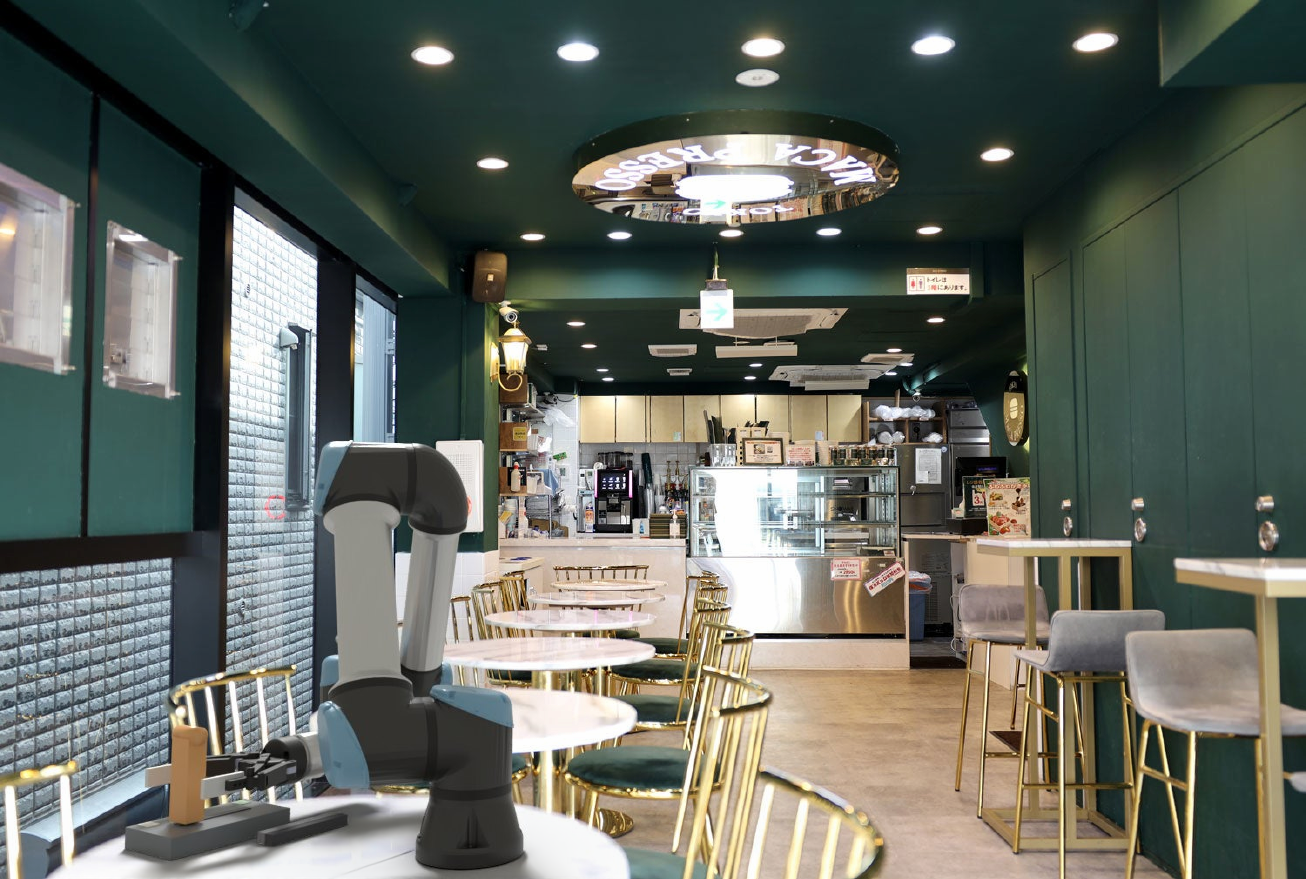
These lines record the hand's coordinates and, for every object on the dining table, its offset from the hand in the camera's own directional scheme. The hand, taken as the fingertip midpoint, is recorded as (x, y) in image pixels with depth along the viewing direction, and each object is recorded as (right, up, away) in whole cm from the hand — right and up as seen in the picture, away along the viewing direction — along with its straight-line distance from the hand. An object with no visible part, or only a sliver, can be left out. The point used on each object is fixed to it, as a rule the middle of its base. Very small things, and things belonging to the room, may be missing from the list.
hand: (173, 783), depth 153 cm
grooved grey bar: (+17, -10, +6) cm, 20 cm away
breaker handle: (+1, -6, +1) cm, 6 cm away
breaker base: (+4, -9, +4) cm, 11 cm away
